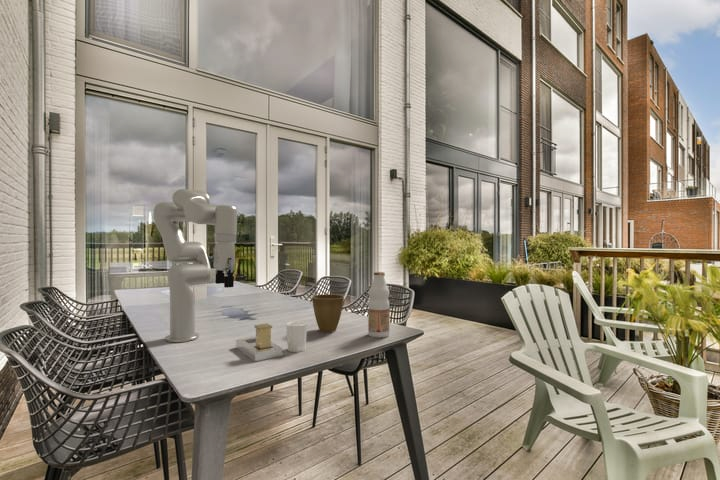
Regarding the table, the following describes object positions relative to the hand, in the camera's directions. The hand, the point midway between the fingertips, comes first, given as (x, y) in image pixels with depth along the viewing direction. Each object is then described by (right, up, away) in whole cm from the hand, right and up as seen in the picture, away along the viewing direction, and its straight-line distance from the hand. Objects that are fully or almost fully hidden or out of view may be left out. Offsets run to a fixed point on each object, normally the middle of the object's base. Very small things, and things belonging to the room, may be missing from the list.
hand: (224, 285), depth 133 cm
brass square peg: (+15, -26, -1) cm, 29 cm away
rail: (+12, -25, +3) cm, 28 cm away
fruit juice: (+58, -26, +27) cm, 70 cm away
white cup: (+26, -26, +6) cm, 37 cm away
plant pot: (+35, -26, +35) cm, 56 cm away
